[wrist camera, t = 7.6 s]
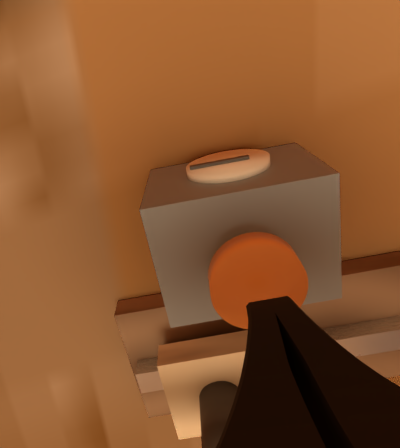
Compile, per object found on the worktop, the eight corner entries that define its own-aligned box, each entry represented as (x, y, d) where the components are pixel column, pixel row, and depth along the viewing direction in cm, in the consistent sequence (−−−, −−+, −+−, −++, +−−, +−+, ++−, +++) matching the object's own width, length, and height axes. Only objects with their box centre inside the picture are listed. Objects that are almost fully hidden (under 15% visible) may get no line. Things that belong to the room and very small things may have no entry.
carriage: (266, 385, 24) (302, 518, 17) (179, 400, 25) (178, 537, 18) (257, 314, 22) (293, 434, 15) (159, 331, 22) (149, 458, 15)
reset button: (292, 284, 16) (310, 320, 14) (213, 298, 16) (218, 336, 14) (286, 211, 15) (305, 237, 13) (199, 227, 15) (202, 256, 13)
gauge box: (302, 240, 22) (342, 297, 17) (173, 263, 22) (170, 327, 17) (294, 132, 20) (339, 159, 14) (148, 159, 20) (136, 197, 14)
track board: (448, 349, 26) (463, 365, 25) (150, 399, 27) (148, 417, 26) (463, 239, 23) (481, 251, 21) (118, 301, 23) (114, 315, 22)
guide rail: (462, 323, 24) (476, 336, 22) (143, 378, 24) (141, 393, 23) (465, 303, 23) (479, 315, 22) (137, 360, 23) (135, 374, 22)
